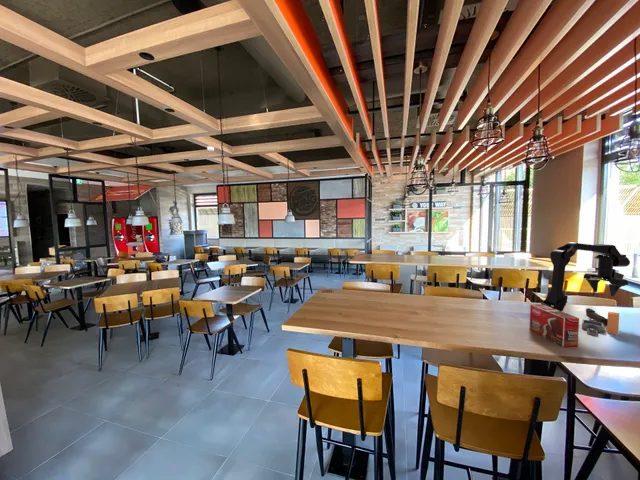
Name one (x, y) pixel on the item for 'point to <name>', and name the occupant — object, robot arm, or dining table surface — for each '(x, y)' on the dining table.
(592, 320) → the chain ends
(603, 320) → the hand tool
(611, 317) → the orange rectangular block
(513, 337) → the dining table surface
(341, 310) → the dining table surface
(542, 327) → the ice cream box
